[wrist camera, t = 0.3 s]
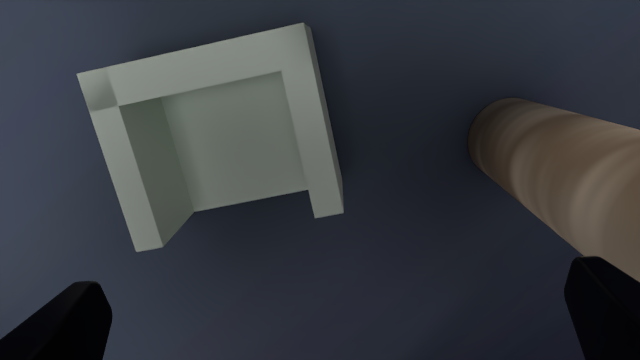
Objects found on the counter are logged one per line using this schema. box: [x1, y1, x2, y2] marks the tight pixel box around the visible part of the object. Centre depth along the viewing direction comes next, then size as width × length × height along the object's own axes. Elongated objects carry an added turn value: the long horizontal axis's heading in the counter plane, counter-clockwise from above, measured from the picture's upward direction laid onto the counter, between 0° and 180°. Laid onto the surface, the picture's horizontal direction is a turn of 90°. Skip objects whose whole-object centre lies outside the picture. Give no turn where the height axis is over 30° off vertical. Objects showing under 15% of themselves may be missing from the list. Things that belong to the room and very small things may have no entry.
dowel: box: [467, 98, 640, 282], centre depth 17 cm, size 4×4×12 cm
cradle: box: [77, 23, 344, 252], centre depth 21 cm, size 8×9×5 cm
